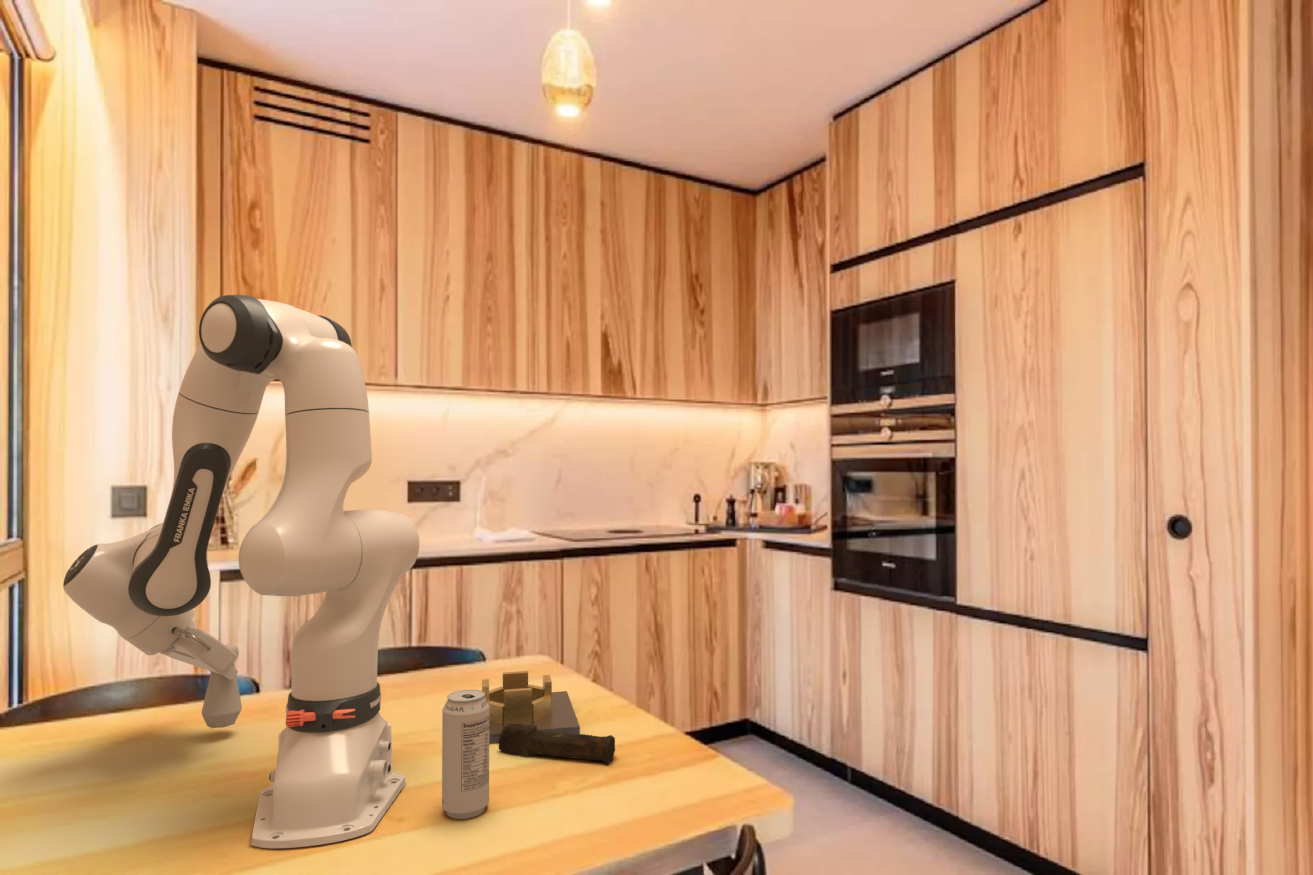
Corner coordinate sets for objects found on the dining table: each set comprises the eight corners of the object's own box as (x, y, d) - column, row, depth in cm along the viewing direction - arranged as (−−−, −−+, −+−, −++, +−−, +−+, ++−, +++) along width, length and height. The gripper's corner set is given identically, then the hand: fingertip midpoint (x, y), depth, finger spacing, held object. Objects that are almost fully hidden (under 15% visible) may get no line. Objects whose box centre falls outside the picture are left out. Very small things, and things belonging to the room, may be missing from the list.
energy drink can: (470, 795, 101) (471, 685, 102) (498, 808, 98) (498, 693, 98) (432, 811, 97) (433, 696, 97) (460, 825, 93) (460, 705, 93)
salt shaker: (210, 732, 120) (212, 651, 121) (195, 725, 124) (197, 647, 125) (247, 723, 125) (249, 645, 126) (232, 716, 128) (234, 641, 129)
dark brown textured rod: (617, 758, 115) (617, 727, 115) (608, 768, 111) (608, 736, 111) (507, 746, 120) (507, 717, 120) (495, 756, 116) (495, 725, 116)
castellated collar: (579, 735, 124) (579, 693, 124) (456, 746, 119) (456, 702, 119) (566, 698, 143) (566, 662, 143) (460, 707, 138) (460, 669, 139)
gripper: (205, 616, 114) (269, 666, 121) (154, 604, 126) (215, 650, 133) (172, 651, 110) (241, 700, 117) (123, 635, 122) (188, 681, 130)
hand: (227, 673), depth 125 cm, fingers closed on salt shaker, 3 cm apart
